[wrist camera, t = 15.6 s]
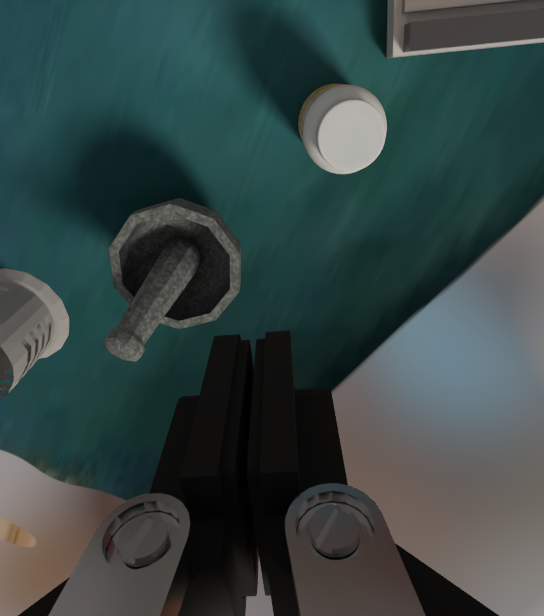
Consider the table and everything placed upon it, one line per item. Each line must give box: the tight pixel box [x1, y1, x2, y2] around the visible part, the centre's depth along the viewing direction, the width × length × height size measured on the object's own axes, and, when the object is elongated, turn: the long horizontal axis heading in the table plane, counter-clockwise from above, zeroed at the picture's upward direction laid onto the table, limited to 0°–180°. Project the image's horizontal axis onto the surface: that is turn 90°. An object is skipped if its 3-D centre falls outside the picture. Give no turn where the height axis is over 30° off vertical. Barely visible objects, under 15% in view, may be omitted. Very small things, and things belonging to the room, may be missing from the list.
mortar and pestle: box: [104, 198, 241, 361], centre depth 34 cm, size 11×9×12 cm
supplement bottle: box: [298, 83, 387, 174], centre depth 30 cm, size 5×5×10 cm
